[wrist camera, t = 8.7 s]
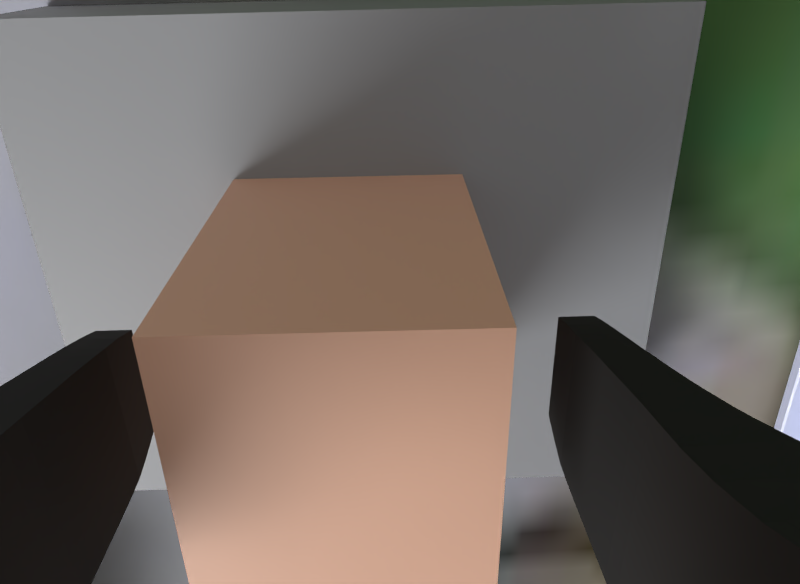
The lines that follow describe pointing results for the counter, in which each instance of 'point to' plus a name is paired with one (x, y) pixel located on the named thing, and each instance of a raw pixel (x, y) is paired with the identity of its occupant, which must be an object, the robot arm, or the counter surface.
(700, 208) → the counter surface
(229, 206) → the terracotta block
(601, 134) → the plinth
